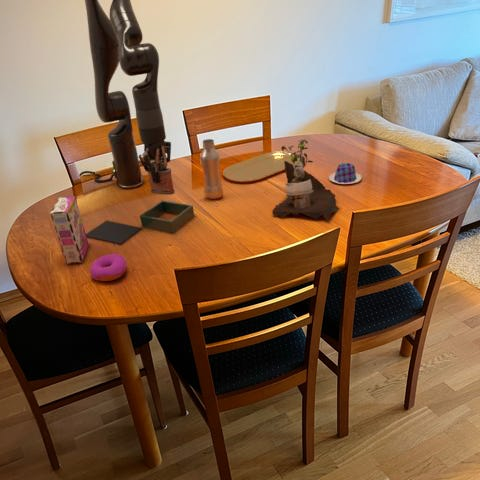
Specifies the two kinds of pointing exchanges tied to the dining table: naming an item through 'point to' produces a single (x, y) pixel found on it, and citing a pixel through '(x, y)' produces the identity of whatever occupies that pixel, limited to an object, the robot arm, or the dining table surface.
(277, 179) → the dining table surface
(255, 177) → the serving platter
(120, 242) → the mat
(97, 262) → the donut
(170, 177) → the lighter
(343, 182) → the purple patterned hat
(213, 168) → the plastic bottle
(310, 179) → the potted plant
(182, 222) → the frame
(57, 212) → the candy bar box
